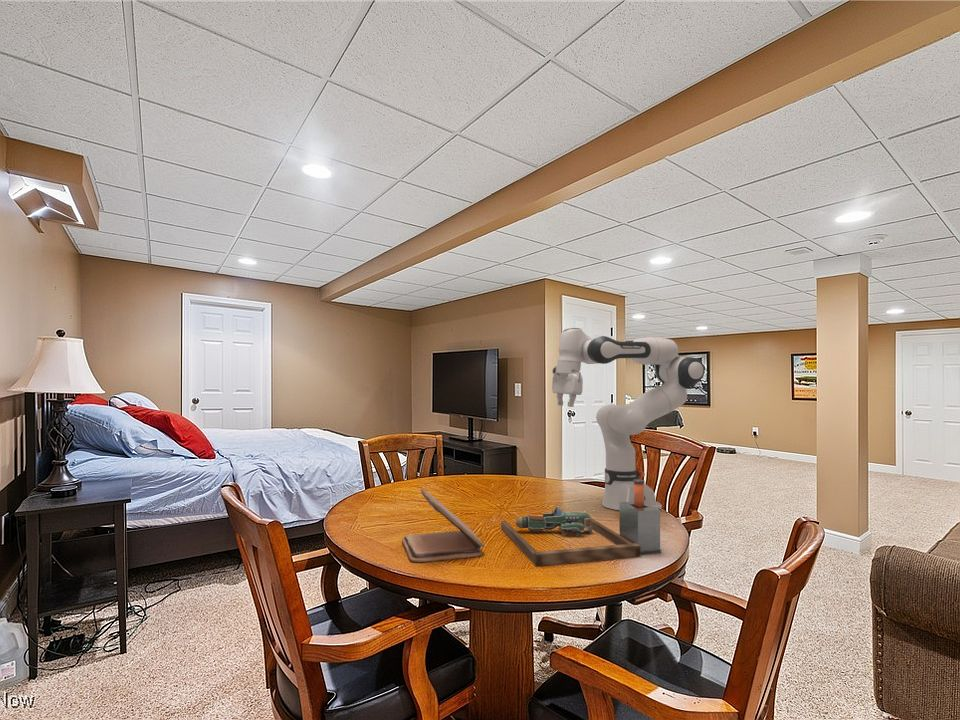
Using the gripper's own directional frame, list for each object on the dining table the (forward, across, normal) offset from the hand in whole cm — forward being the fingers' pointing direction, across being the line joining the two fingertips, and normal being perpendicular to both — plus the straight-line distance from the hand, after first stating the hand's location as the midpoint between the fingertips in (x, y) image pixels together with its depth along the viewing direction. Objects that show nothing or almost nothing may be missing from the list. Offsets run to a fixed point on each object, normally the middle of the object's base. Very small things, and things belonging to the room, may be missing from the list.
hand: (565, 406), depth 182 cm
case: (+44, -30, +48) cm, 72 cm away
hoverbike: (+40, -24, +11) cm, 48 cm away
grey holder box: (+38, -43, -8) cm, 58 cm away
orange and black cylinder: (+26, -43, -7) cm, 51 cm away
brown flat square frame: (+40, -33, +11) cm, 53 cm away
